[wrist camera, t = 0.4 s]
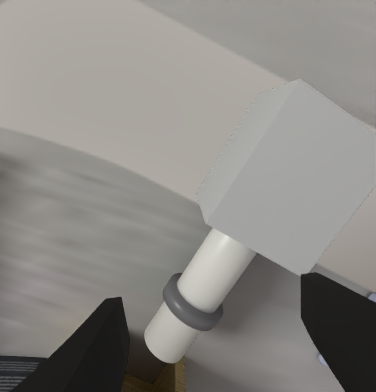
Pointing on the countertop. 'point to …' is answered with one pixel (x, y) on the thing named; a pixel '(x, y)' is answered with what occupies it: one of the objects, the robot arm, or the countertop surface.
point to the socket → (159, 380)
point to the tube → (196, 296)
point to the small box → (16, 370)
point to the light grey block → (290, 176)
